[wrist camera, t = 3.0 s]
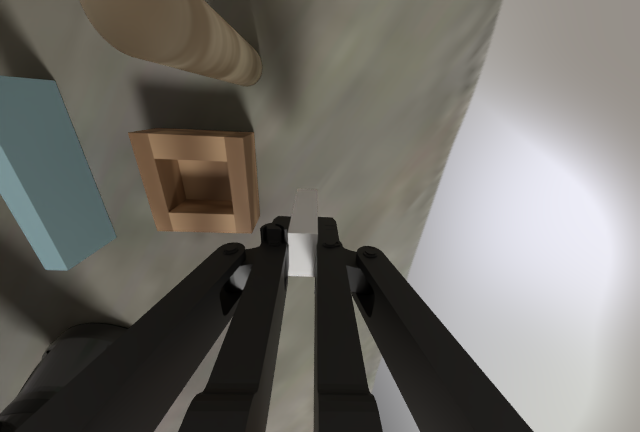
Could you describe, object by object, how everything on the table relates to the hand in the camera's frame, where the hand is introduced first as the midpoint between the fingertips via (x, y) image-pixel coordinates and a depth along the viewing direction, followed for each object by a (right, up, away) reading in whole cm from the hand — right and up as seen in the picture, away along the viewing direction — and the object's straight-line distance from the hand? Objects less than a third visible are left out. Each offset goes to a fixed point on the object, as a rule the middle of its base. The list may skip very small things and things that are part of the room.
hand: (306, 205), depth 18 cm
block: (-10, +4, +6) cm, 13 cm away
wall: (-24, +4, +6) cm, 25 cm away
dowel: (-6, +12, +2) cm, 14 cm away
